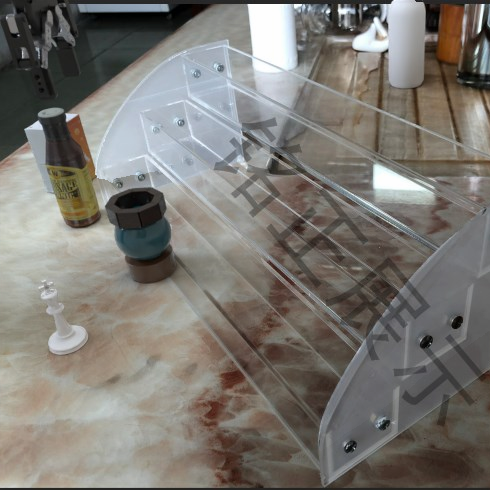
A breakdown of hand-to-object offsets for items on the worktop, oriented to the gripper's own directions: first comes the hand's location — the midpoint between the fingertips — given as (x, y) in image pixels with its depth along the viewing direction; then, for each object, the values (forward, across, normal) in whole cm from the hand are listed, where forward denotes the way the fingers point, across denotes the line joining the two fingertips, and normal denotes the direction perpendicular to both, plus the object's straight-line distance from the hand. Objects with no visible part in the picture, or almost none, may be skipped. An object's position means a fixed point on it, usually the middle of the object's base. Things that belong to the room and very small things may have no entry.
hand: (61, 87), depth 76 cm
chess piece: (+28, +17, -2) cm, 33 cm away
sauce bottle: (+28, -14, -10) cm, 33 cm away
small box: (+28, -28, -17) cm, 43 cm away
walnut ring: (+18, +2, +6) cm, 20 cm away
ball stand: (+28, +2, +6) cm, 29 cm away
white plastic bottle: (+28, -73, +53) cm, 95 cm away
